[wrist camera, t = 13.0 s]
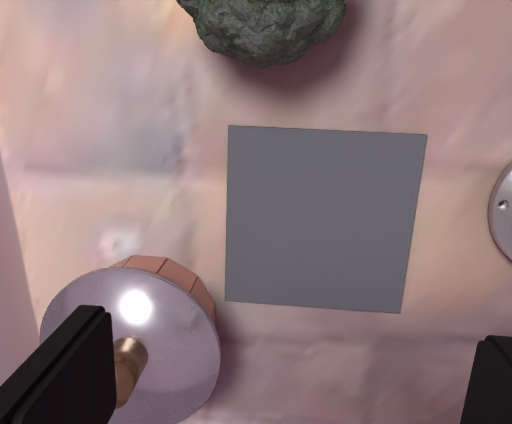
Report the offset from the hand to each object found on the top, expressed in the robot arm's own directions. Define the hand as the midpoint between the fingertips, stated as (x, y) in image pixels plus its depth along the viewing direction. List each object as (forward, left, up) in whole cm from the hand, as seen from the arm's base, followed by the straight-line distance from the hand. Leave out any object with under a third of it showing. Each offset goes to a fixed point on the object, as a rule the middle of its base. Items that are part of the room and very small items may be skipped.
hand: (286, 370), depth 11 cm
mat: (-3, +5, -28) cm, 29 cm away
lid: (+13, +16, -22) cm, 30 cm away
